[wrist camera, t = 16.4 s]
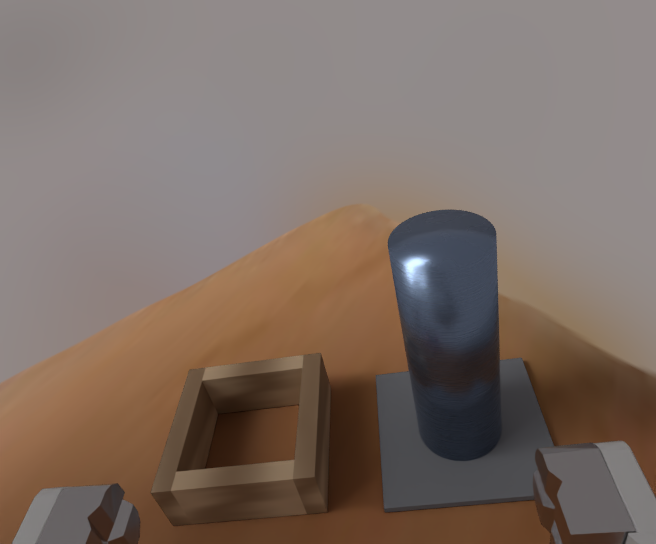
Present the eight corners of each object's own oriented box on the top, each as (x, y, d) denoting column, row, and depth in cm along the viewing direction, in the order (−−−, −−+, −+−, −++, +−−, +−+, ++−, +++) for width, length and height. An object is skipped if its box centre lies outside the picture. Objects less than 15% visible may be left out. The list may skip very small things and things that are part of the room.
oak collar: (173, 525, 32) (150, 493, 30) (205, 402, 40) (189, 369, 38) (327, 512, 31) (314, 477, 29) (330, 387, 39) (320, 352, 37)
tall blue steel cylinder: (423, 465, 32) (391, 276, 24) (414, 398, 36) (385, 218, 28) (510, 456, 31) (507, 259, 23) (492, 390, 35) (484, 202, 27)
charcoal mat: (385, 512, 30) (383, 508, 30) (376, 379, 39) (375, 375, 38) (570, 496, 29) (571, 492, 29) (521, 361, 37) (521, 357, 37)
